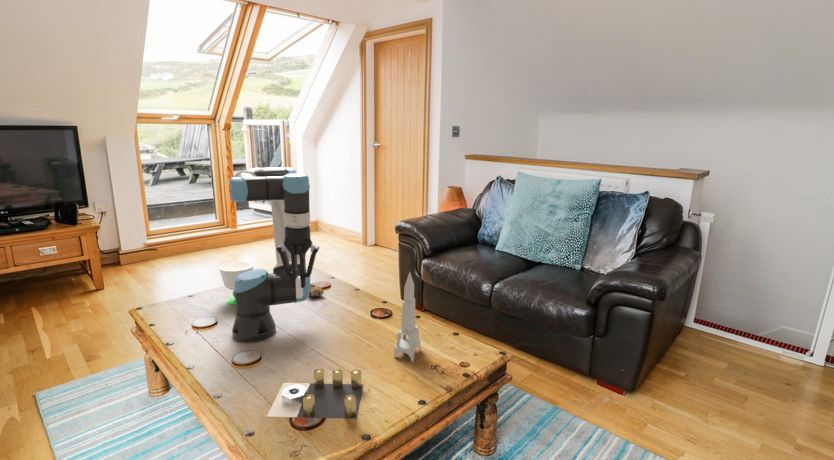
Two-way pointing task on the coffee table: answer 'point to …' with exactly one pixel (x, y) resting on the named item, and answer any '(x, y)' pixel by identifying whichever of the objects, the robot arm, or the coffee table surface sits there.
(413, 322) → the sculpture
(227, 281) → the cup
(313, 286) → the sculpture
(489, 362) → the coffee table surface
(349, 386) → the mat
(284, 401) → the nut
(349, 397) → the spacers
